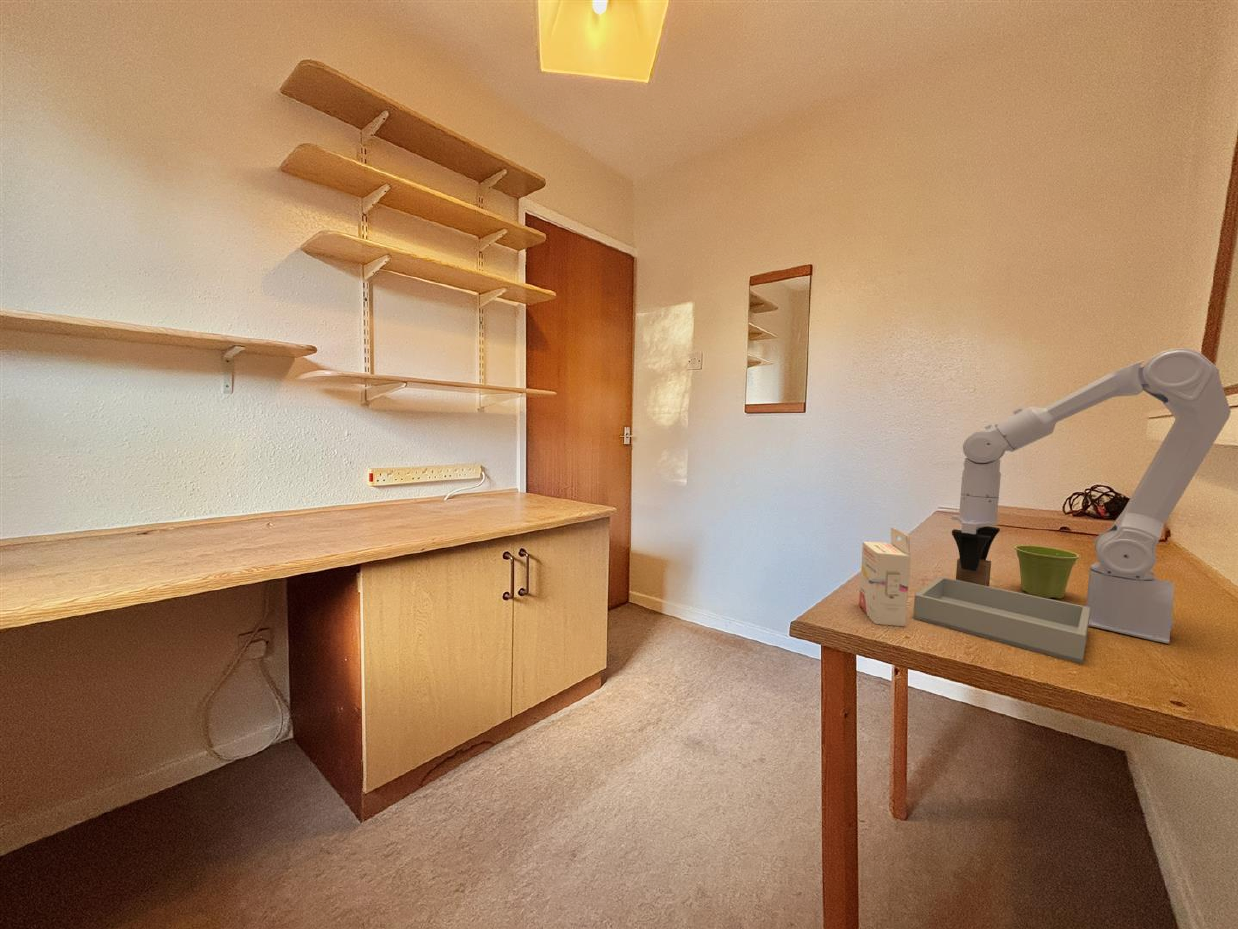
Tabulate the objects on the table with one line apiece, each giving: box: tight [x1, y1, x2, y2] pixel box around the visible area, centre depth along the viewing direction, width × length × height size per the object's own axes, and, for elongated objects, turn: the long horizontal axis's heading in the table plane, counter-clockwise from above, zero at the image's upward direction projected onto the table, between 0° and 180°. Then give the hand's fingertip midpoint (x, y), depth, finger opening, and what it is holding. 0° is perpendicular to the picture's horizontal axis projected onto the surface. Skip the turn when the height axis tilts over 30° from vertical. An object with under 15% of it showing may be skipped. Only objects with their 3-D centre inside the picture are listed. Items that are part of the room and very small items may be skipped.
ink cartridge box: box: [858, 526, 911, 627], centre depth 78 cm, size 9×5×15 cm, turn 168°
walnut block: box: [955, 557, 992, 587], centre depth 89 cm, size 4×4×7 cm
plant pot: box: [1013, 544, 1081, 600], centre depth 91 cm, size 9×9×9 cm
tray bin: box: [912, 576, 1090, 665], centre depth 75 cm, size 20×16×4 cm
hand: (973, 566), depth 89 cm, fingers open, 7 cm apart
